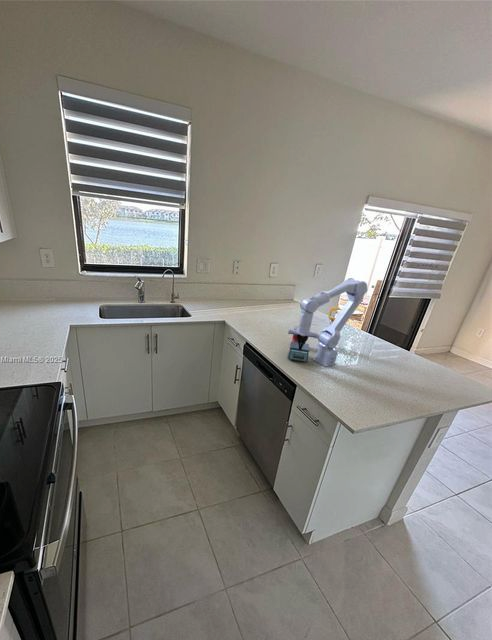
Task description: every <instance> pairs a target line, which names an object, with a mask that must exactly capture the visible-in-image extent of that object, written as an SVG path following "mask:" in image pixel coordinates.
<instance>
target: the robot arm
mask: <svg viewBox="0 0 492 640" xmlns="http://www.w3.org/2000/svg"><path fill="white" fill-rule="evenodd" d="M368 291H369V289H368V284H367V282H366V281H363V280H359V279H355V278H352V277H350V278H347V279H344V280H343V281H342V283H340V284H339V285H337V286H335V287H333V288H332V289H330V290H329V291H328V290H327V291H322V290H321V291H319V293H317V294H315V295H312V296H310V298H307V297H305V298H304V299H303V300H302V301H301V302H300V304H299V307H300V309H301V310H300V316H299V322H298V325H297V326H298V330H294V329H288V332H287V334H288V335H292V336H293V335H297V340H298V344H299V349H298V350H301V349H302V347H303V345H304V344H306V343H305V342H307V341H308V340H309V338H314V339H317V341H318V348H317V352H316V355H315V356H316V357H312V359H311V360H312V361H314V362H316V363H318V364H320V365H322V366H323V367H329V366H333V365H336V361H337V358H338V357H337V356H338V351H337V350H336V347H337V346H338V345H339V341H340V339H341V333H340V332H341V331H342V329H343V328H344V326H345V325H346V323H348V321H349V319H350V318H351V317H352V315H353V314H354V313H355V312H356V310H357V308H358V307H359V306H360V304H361V303H362V301H363V298H364V296H365V295H366V294H367V292H368ZM344 293H346V295H347V299H348V300H347V301H346V303H345V304H344V306H343V307H342V309H341V310H340V312H339V313H338V314H337V315H336V317H335V318H336V319H335V320H334V321H333V323H332V324H331V326H330V327H329V326H326V327H327V328H326V327H324V328H325V329H324V328H323V329H324V330H323V329H322V331H320V332H319V333H315V332H312V331H311V327H312V322H313V318H314V314H315V312H316V311H317V310H318V308H319V309H320V307H322V306H324V305H326V304H328V303H330V300H331V299H332V298H335V297H337V296H339V295H341V294H344ZM331 334H332V335H331ZM302 336H303V337H302ZM301 341H302V343H301ZM334 347H335V349H334Z"/></svg>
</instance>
